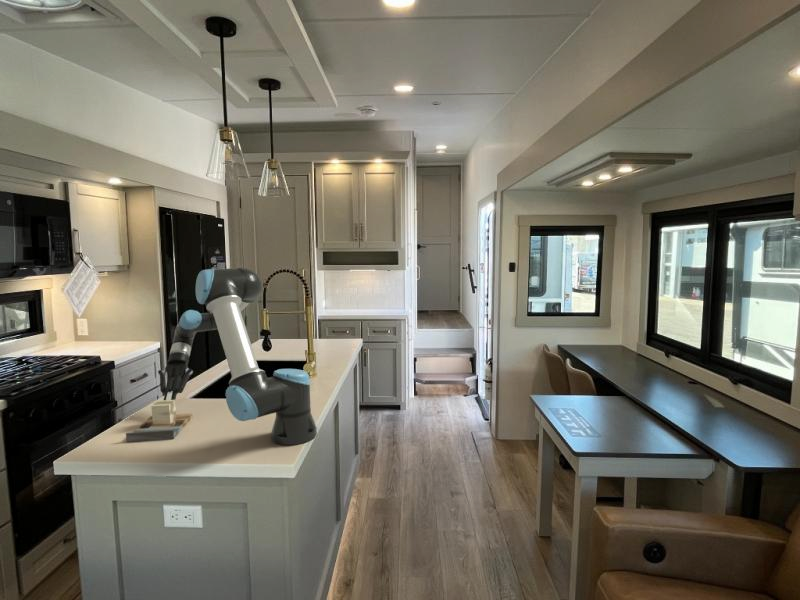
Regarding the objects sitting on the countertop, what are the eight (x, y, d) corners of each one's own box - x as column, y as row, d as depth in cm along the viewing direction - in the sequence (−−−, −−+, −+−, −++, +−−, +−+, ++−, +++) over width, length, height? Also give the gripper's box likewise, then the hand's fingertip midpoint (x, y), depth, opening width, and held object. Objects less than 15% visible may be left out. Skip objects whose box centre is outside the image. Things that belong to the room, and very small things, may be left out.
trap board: (151, 419, 171) (150, 412, 170) (192, 417, 173) (192, 409, 172) (126, 442, 151) (125, 433, 150) (173, 438, 153) (172, 430, 152)
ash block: (159, 418, 168) (157, 400, 167) (176, 417, 168) (174, 399, 168) (152, 424, 162) (151, 406, 161) (170, 423, 162) (169, 405, 162)
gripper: (198, 360, 187) (188, 412, 173) (165, 361, 185) (152, 414, 171) (193, 350, 181) (182, 403, 167) (159, 352, 180) (145, 406, 165)
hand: (167, 409), depth 169 cm, fingers closed
